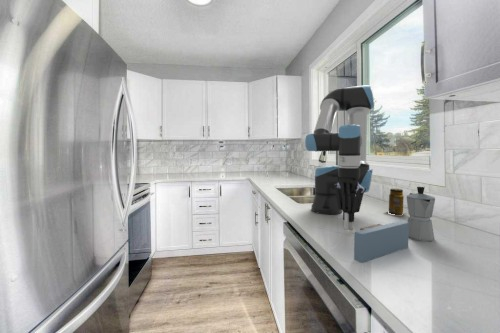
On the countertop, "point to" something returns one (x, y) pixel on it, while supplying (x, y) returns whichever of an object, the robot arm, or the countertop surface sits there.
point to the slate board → (380, 240)
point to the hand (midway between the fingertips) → (348, 229)
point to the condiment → (396, 202)
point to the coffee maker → (420, 216)
